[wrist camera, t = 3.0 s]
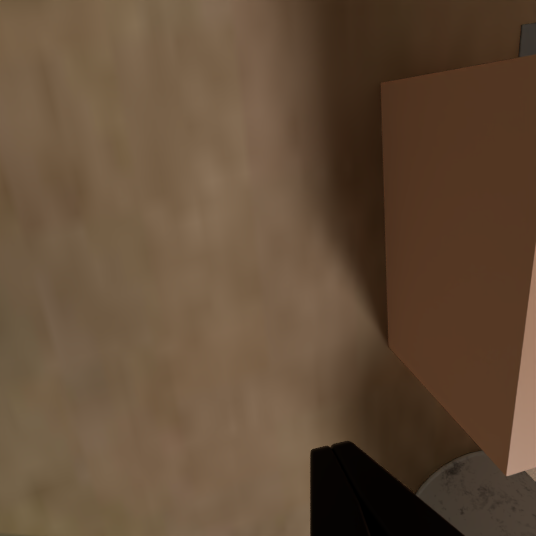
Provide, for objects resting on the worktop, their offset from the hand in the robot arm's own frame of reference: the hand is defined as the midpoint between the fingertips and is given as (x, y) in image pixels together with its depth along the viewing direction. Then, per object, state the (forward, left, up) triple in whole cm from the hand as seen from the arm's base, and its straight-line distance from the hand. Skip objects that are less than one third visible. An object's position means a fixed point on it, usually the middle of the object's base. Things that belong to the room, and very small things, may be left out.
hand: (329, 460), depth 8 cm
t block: (+9, +11, -12) cm, 18 cm away
